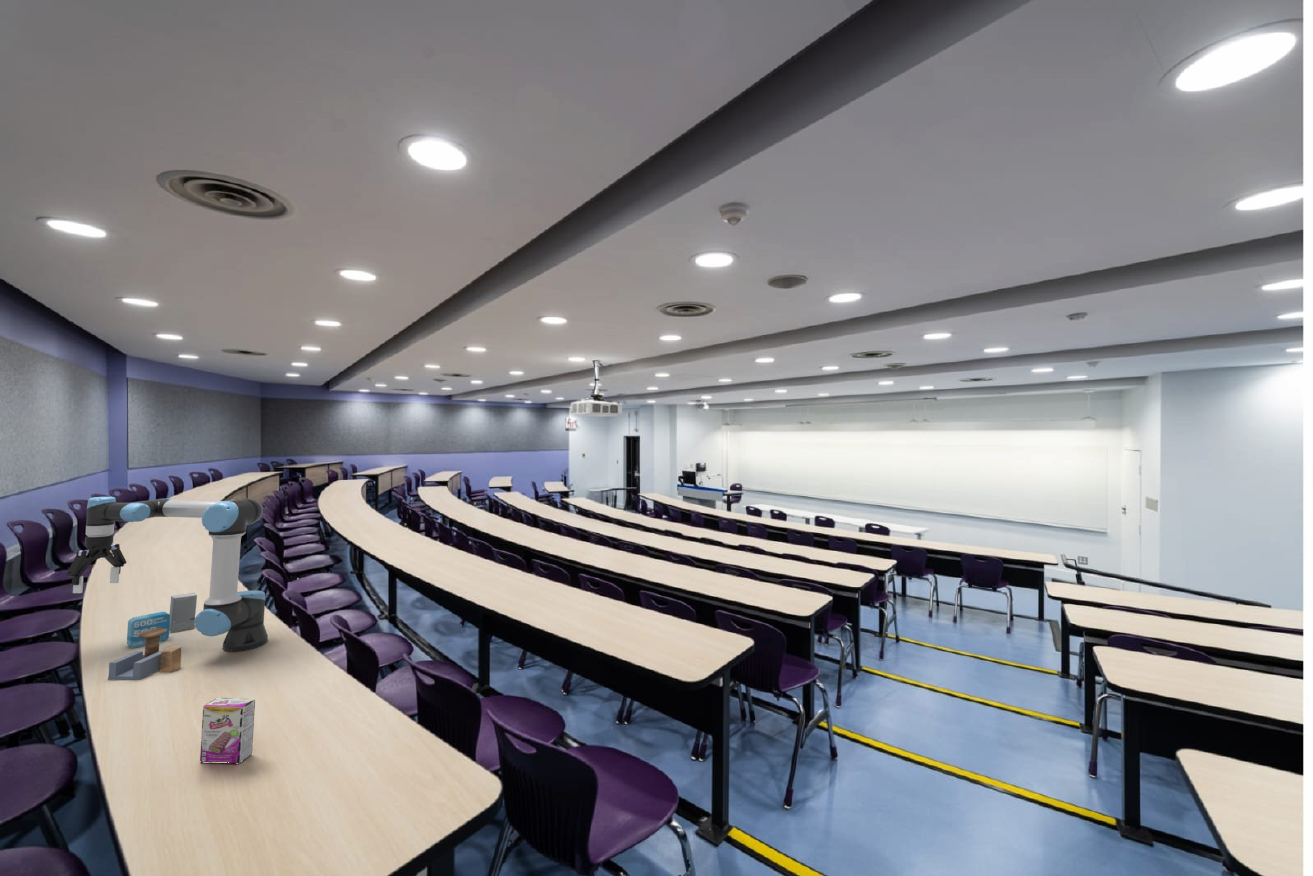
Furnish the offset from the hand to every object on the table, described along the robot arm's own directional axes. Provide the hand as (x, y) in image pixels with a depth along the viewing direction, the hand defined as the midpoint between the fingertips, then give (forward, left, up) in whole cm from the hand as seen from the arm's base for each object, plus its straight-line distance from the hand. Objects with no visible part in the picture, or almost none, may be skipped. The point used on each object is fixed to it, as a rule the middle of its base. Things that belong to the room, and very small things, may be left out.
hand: (96, 587), depth 195 cm
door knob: (-24, +2, -28) cm, 37 cm away
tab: (-39, +11, -28) cm, 49 cm away
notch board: (-30, +14, -28) cm, 43 cm away
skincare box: (-9, -29, -28) cm, 42 cm away
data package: (-9, -13, -28) cm, 32 cm away
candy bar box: (-100, +64, -28) cm, 122 cm away
